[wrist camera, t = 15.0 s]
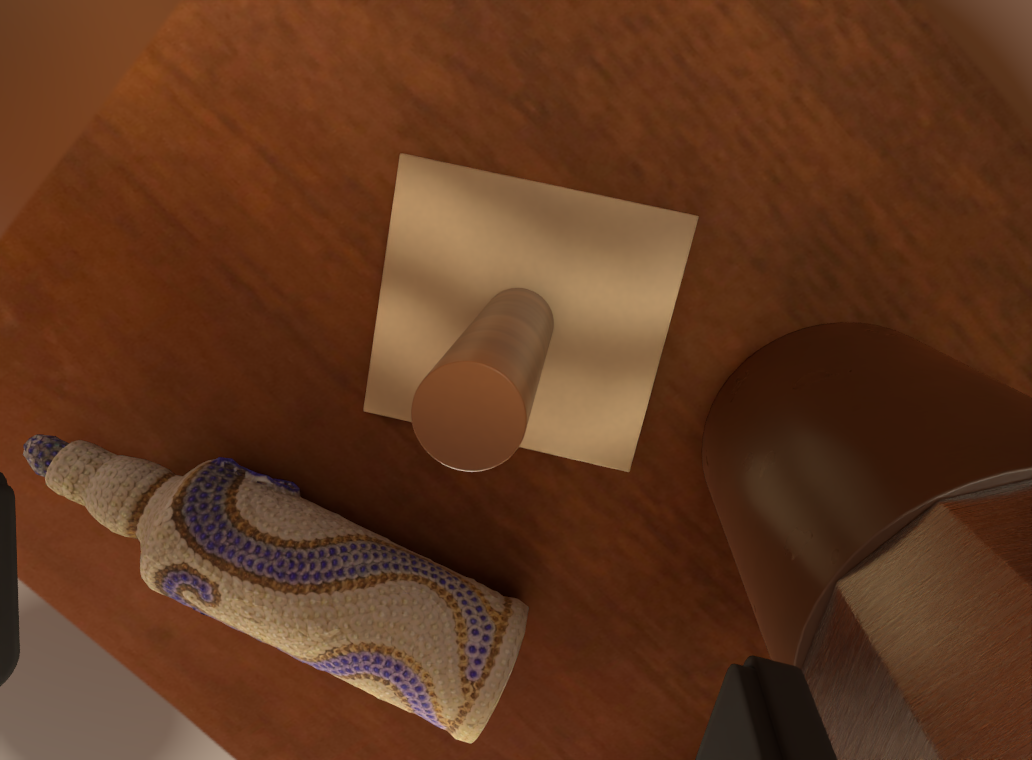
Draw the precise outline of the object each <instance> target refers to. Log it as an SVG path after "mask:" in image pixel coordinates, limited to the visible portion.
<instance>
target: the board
mask: <svg viewBox="0 0 1032 760" xmlns="http://www.w3.org/2000/svg"><path fill="white" fill-rule="evenodd" d="M698 218H699V216H697V215H694V214H689V213H684V212H680V211H675V210H670V209H665V208H661V207H656V206H651V205H646V204H642V203H637V202H632V201H627V200H623V199H618V198H613V197H608V196H604V195H599V194H594V193H589V192H585V191H580V190H575V189H570V188H566V187H561V186H556V185H551V184H547V183H542V182H537V181H532V180H528V179H523V178H518V177H513V176H509V175H504V174H499V173H494V172H490V171H485V170H480V169H475V168H471V167H466V166H461V165H456V164H452V163H447V162H442V161H438V160H433V159H428V158H423V157H419V156H414V155H409V154H402V153H401V154H400V157H399V164H398V171H397V178H396V185H395V192H394V199H393V206H392V213H391V220H390V227H389V234H388V241H387V248H386V255H385V262H384V269H383V276H382V283H381V290H380V297H379V304H378V311H377V318H376V325H375V332H374V339H373V346H372V353H371V360H370V367H369V374H368V381H367V388H366V395H365V402H364V409H363V411H365V412H369V413H373V414H378V415H382V416H386V417H391V418H395V419H399V420H404V421H408V422H412V420H411V406H412V401H413V397H414V394H415V392H416V390H417V388H418V386H419V384H420V383H421V382H422V380H423V379H424V378H425V377H426V376H427V374H428V373H429V372H430V371H431V370H432V369H433V367H434V366H435V365H436V364H437V363H438V362H439V360H440V359H441V358H442V357H443V356H444V354H445V353H446V352H447V351H448V350H449V349H450V347H451V346H452V345H453V344H454V343H455V342H456V340H457V339H458V338H459V337H460V336H461V335H462V333H463V332H464V331H465V330H466V329H467V328H468V326H469V325H470V324H471V323H472V322H473V321H474V319H475V318H476V317H477V316H478V315H479V313H480V312H481V311H482V310H483V309H484V308H485V306H486V305H487V304H488V303H489V302H490V301H491V299H492V298H493V297H494V296H496V295H497V294H498V293H500V292H502V291H504V290H507V289H511V288H525V289H529V290H531V291H534V292H536V293H537V294H539V295H540V296H541V297H542V298H543V299H544V300H545V301H546V302H547V303H548V305H549V307H550V308H551V311H552V314H553V319H554V328H553V333H552V337H551V340H550V344H549V348H548V351H547V355H546V359H545V362H544V366H543V370H542V373H541V377H540V381H539V384H538V388H537V392H536V395H535V399H534V402H533V406H532V410H531V413H530V417H529V421H528V424H527V428H526V432H525V435H524V438H523V440H522V442H521V444H520V446H519V447H522V448H526V449H530V450H535V451H539V452H543V453H548V454H552V455H556V456H561V457H565V458H569V459H574V460H578V461H583V462H587V463H591V464H596V465H600V466H604V467H609V468H613V469H617V470H622V471H626V472H629V471H630V468H631V465H632V461H633V457H634V453H635V450H636V446H637V442H638V439H639V435H640V431H641V428H642V424H643V420H644V417H645V413H646V409H647V406H648V402H649V398H650V395H651V391H652V387H653V384H654V380H655V376H656V373H657V369H658V365H659V362H660V358H661V354H662V351H663V347H664V343H665V340H666V336H667V332H668V328H669V325H670V321H671V317H672V314H673V310H674V306H675V303H676V299H677V295H678V292H679V288H680V284H681V281H682V277H683V273H684V270H685V266H686V262H687V259H688V255H689V251H690V248H691V244H692V240H693V237H694V233H695V229H696V226H697V222H698Z"/></svg>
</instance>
